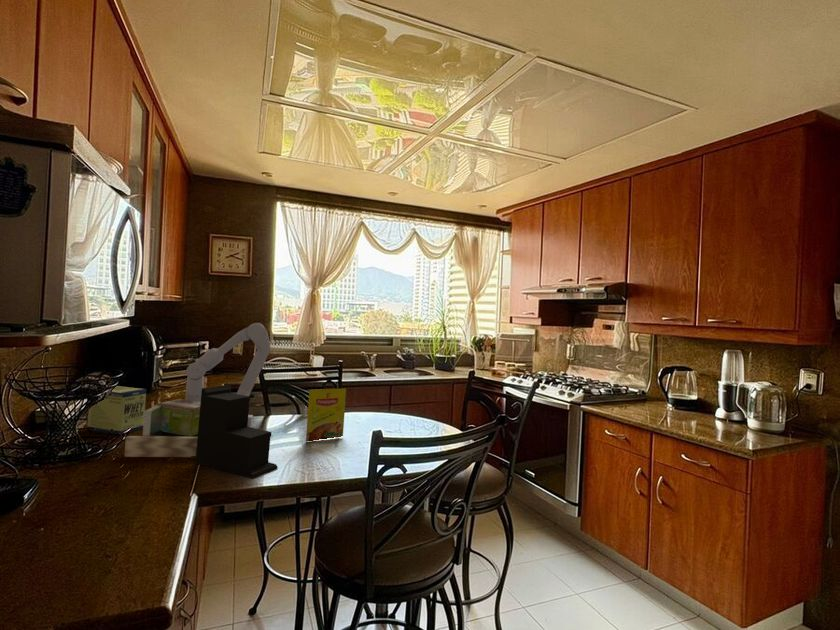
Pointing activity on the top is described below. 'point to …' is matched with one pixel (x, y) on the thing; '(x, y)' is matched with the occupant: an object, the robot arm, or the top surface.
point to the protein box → (119, 411)
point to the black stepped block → (230, 435)
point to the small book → (152, 421)
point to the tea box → (180, 418)
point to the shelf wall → (160, 446)
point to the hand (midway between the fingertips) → (191, 432)
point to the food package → (325, 414)
